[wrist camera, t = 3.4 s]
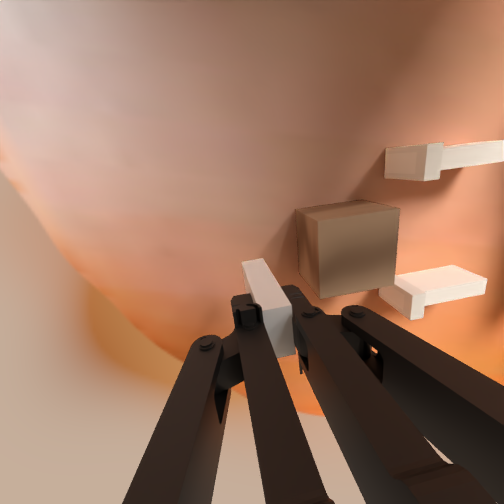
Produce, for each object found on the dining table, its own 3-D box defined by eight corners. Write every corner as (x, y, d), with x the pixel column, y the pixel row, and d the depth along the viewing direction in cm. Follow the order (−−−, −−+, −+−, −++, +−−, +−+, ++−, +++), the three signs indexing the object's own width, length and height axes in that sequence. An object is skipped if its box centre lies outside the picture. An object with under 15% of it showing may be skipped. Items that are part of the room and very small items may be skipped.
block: (294, 209, 22) (317, 221, 17) (360, 199, 23) (399, 208, 18) (298, 273, 24) (320, 299, 19) (359, 262, 25) (394, 285, 20)
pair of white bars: (385, 148, 21) (427, 144, 17) (472, 136, 22) (531, 130, 18) (378, 295, 26) (410, 320, 22) (450, 281, 27) (493, 303, 23)
